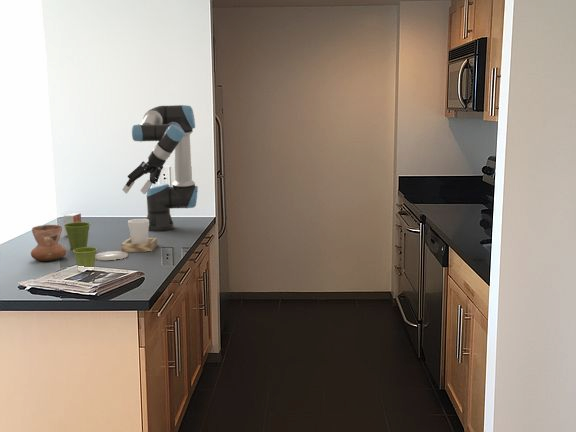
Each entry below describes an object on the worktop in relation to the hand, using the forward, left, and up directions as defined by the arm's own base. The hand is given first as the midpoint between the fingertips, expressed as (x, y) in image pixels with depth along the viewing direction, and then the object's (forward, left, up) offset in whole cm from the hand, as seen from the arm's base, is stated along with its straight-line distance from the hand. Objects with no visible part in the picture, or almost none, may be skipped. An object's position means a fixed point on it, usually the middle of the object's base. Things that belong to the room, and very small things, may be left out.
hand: (133, 192), depth 305 cm
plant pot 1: (+23, -15, -27) cm, 38 cm away
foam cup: (-1, +1, -27) cm, 27 cm away
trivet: (+15, +11, -26) cm, 32 cm away
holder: (-1, +1, -26) cm, 26 cm away
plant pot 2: (+30, +29, -27) cm, 49 cm away
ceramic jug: (+39, 0, -27) cm, 47 cm away
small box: (+18, -49, -27) cm, 59 cm away
